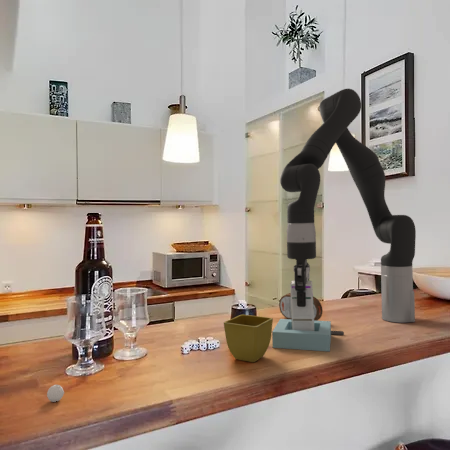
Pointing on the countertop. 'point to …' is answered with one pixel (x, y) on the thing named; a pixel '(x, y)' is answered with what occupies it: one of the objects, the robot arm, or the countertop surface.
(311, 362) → the countertop surface
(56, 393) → the grey ball
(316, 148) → the robot arm
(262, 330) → the flower pot
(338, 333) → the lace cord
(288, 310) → the tin
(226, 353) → the countertop surface
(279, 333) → the teal square holder
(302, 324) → the syrup box
